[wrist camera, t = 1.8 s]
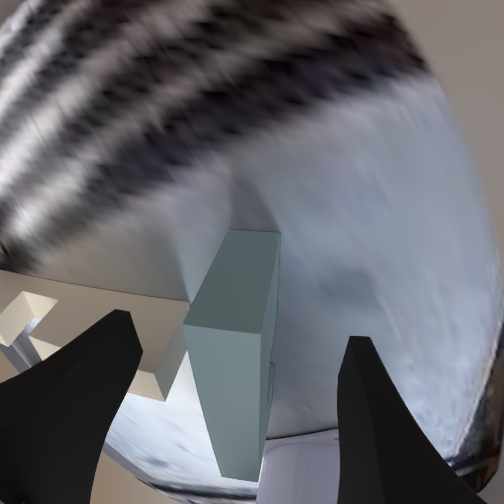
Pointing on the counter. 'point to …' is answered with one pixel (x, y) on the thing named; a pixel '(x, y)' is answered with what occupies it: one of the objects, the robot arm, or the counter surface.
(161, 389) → the cream rail
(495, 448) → the counter surface
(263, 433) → the teal notched block
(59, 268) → the counter surface
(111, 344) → the robot arm
